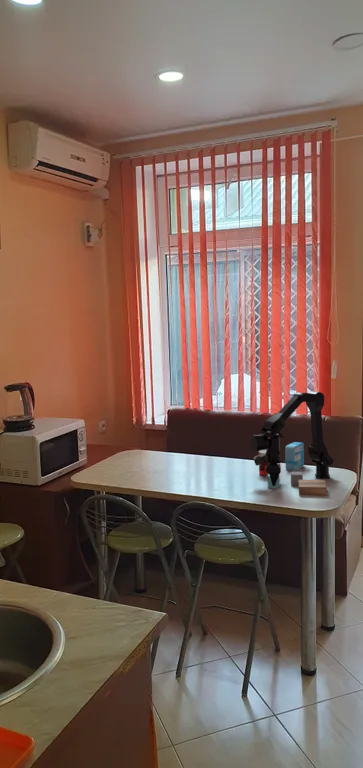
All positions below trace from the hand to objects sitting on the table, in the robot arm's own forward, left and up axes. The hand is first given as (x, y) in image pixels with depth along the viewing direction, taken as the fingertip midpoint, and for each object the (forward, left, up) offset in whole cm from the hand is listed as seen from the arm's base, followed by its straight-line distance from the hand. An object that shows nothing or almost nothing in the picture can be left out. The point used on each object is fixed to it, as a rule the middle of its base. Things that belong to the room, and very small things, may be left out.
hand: (273, 483), depth 254 cm
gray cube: (-3, +10, -1) cm, 10 cm away
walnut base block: (+8, +16, -1) cm, 18 cm away
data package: (-31, +10, -1) cm, 33 cm away
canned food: (-19, -3, -1) cm, 19 cm away
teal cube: (0, 0, -1) cm, 1 cm away
